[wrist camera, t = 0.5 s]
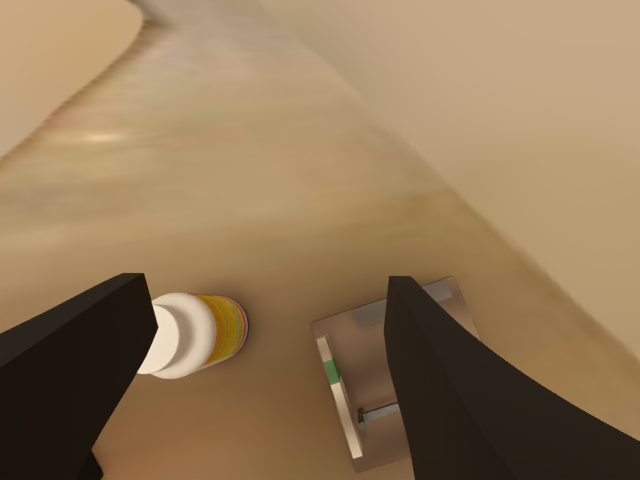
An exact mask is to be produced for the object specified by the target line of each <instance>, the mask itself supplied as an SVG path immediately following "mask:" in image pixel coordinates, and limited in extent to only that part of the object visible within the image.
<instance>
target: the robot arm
mask: <svg viewBox="0 0 640 480" xmlns="http://www.w3.org/2000/svg"><path fill="white" fill-rule="evenodd" d="M158 328H159V327H158V323H157V320H156V316H155V312H154V309H153V305H152V301H151V297H150V294H149V290H148V286H147V283H146V279H145V275H144V273H122V274H120V275H117V276H115V277H113V278H110V279H108V280H106V281H104V282H102V283H100V284H98V285H96V286H94V287H92V288H90V289H88V290H86V291H85V292H83V293H81V294H79V295H77V296H75V297H73V298H71V299H69V300H67V301H65V302H63V303H61V304H59V305H58V306H56V307H54V308H52V309H50V310H48V311H46V312H44V313H42V314H40V315H38V316H36V317H34V318H32V319H30V320H28V321H25V322H23V323H21V324H19V325H17V326H15V327H13V328H11V329H9V330H7V331H5V332H3V333H1V334H0V480H76V479H77V477H78V475H79V473H80V471H81V469H82V467H83V465H84V463H85V461H86V459H87V457H88V455H89V453H90V451H91V449H92V447H93V445H94V443H95V442H96V440H97V438H98V436H99V434H100V433H101V431H102V429H103V428H104V426H105V424H106V423H107V421H108V419H109V418H110V416H111V415H112V413H113V411H114V410H115V408H116V406H117V405H118V403H119V401H120V400H121V398H122V397H123V395H124V393H125V392H126V390H127V388H128V387H129V385H130V384H131V382H132V380H133V379H134V377H135V375H136V374H137V372H138V370H139V369H140V367H141V365H142V363H143V362H144V360H145V358H146V356H147V354H148V352H149V349H150V347H151V345H152V343H153V340H154V338H155V335H156V333H157V330H158ZM384 339H385V347H386V354H387V361H388V366H389V370H390V374H391V378H392V381H393V385H394V389H395V393H396V397H397V401H398V404H399V408H400V412H401V416H402V420H403V424H404V427H405V431H406V435H407V439H408V444H409V448H410V453H411V458H412V464H413V470H414V476H415V480H640V441H638V440H636V439H634V438H633V437H631V436H629V435H627V434H625V433H623V432H621V431H620V430H618V429H616V428H614V427H612V426H610V425H608V424H607V423H605V422H603V421H601V420H599V419H597V418H596V417H594V416H592V415H590V414H589V413H587V412H585V411H583V410H582V409H580V408H578V407H576V406H575V405H573V404H571V403H569V402H568V401H566V400H565V399H563V398H561V397H560V396H558V395H557V394H555V393H553V392H552V391H550V390H548V389H547V388H545V387H544V386H542V385H540V384H539V383H537V382H536V381H534V380H533V379H531V378H530V377H528V376H527V375H525V374H524V373H522V372H521V371H519V370H518V369H517V368H515V367H514V366H512V365H511V364H510V363H508V362H507V361H505V360H504V359H503V358H501V357H500V356H499V355H497V354H496V353H495V352H493V351H492V350H491V349H489V348H488V347H487V346H485V345H484V344H483V343H482V342H481V341H479V340H478V339H477V338H476V337H475V336H473V335H472V334H471V333H470V332H469V331H467V330H466V329H465V328H464V327H463V326H462V325H460V324H459V323H458V322H457V321H456V320H455V319H454V318H453V317H452V316H450V315H449V314H448V313H447V312H446V311H445V310H444V309H443V308H442V307H441V306H440V305H439V304H438V303H437V302H436V301H435V300H434V299H433V298H432V297H431V296H430V295H429V294H428V293H427V292H426V291H425V290H424V289H423V288H422V287H421V286H420V285H419V284H418V283H417V282H416V281H415V280H414V279H413V278H412V277H411V276H389V284H388V293H387V302H386V312H385V321H384Z"/></svg>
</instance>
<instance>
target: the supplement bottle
mask: <svg viewBox="0 0 640 480" xmlns="http://www.w3.org/2000/svg"><path fill="white" fill-rule="evenodd" d="M152 305H153V309H154V312H155V316H156V320H157V323H158V327H159V328H158V330H157V333H156V335H155V338H154V340H153V343H152V345H151V347H150V349H149V352H148V354H147V356H146V358H145V360H144V362H143V363H142V365H141V367H140V369H139V370H138V372H137V373H139V374H152V375H154V376H157V377H160V378H165V379H176V378H181V377H184V376H187V375H189V374H191V373H194V372H196V371H199V370H201V369H204V368H206V367H209V366H211V365H214V364H216V363H219V362H221V361H224V360H226V359H228V358H230V357H232V356H233V355H234V354H236V353H237V352H238V351H239V350H240V348H241V347H242V345H243V344H244V342H245V339H246V336H247V332H248V322H247V317H246V315H245V312H244V310H243V309H242V307H241V306H240V305H239V304H238V303H237V302H236V301H234V300H232V299H231V298H228V297H225V296H218V295H204V294H189V293H170V294H166V295H162V296H160V297H158V298H156V299H154V300H153V301H152Z"/></svg>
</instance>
